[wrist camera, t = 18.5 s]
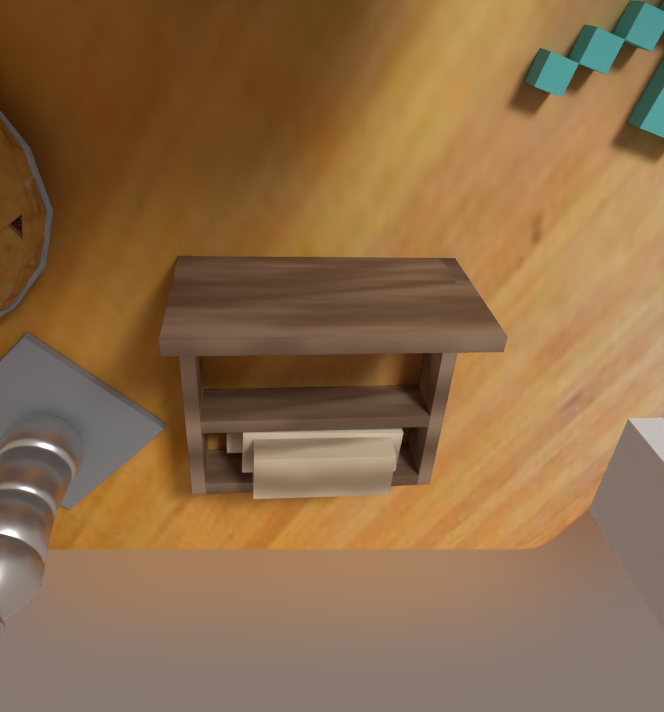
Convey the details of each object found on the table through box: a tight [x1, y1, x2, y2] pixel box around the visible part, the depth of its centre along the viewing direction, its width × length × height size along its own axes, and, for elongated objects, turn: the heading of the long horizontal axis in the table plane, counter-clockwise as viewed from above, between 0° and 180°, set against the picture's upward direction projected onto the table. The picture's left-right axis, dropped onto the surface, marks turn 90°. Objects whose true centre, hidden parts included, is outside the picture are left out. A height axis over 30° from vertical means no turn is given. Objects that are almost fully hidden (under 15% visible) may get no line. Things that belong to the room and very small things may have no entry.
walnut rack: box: [159, 256, 507, 495], centre depth 48 cm, size 21×22×12 cm
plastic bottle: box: [0, 414, 85, 638], centre depth 45 cm, size 6×7×20 cm
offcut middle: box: [242, 427, 403, 473], centre depth 54 cm, size 5×14×2 cm, turn 84°
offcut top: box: [253, 437, 396, 499], centre depth 52 cm, size 5×12×2 cm, turn 85°
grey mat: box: [0, 332, 165, 510], centre depth 53 cm, size 14×14×1 cm
